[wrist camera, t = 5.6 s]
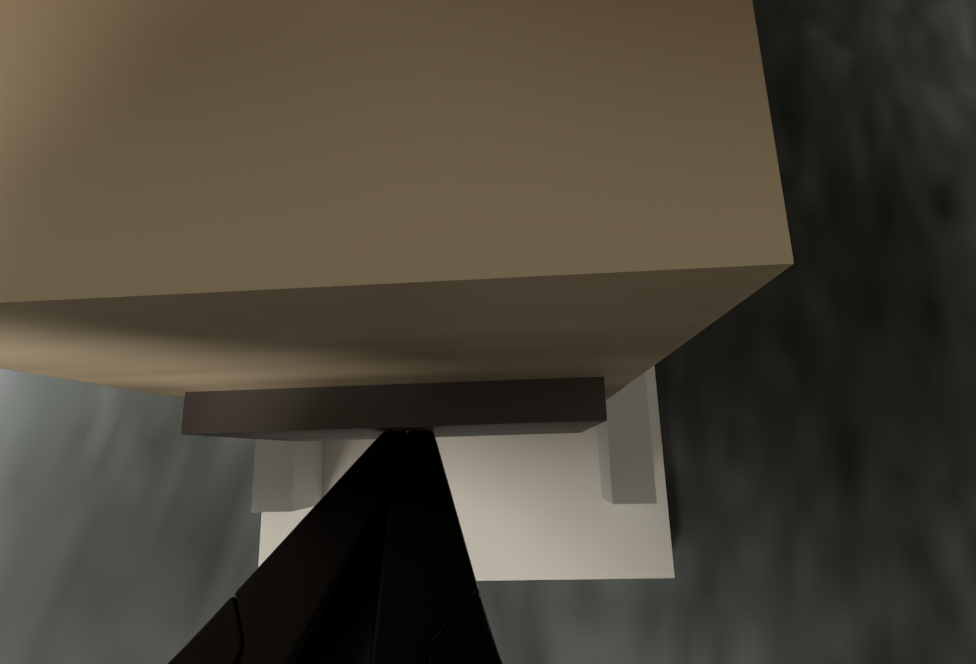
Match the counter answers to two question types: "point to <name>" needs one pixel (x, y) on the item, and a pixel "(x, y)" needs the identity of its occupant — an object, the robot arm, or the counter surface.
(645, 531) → the housing
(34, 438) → the counter surface
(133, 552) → the counter surface
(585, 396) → the light wood block
